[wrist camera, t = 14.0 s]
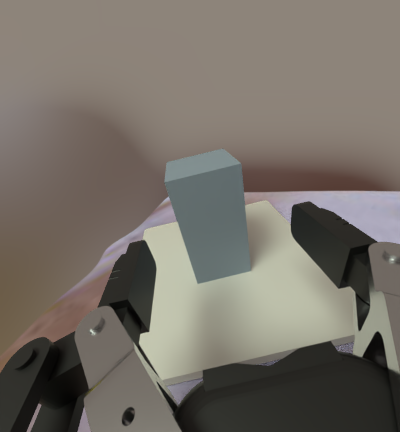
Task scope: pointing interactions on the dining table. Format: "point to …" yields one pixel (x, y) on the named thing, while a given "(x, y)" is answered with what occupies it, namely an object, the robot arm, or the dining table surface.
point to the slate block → (210, 213)
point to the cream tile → (241, 303)
